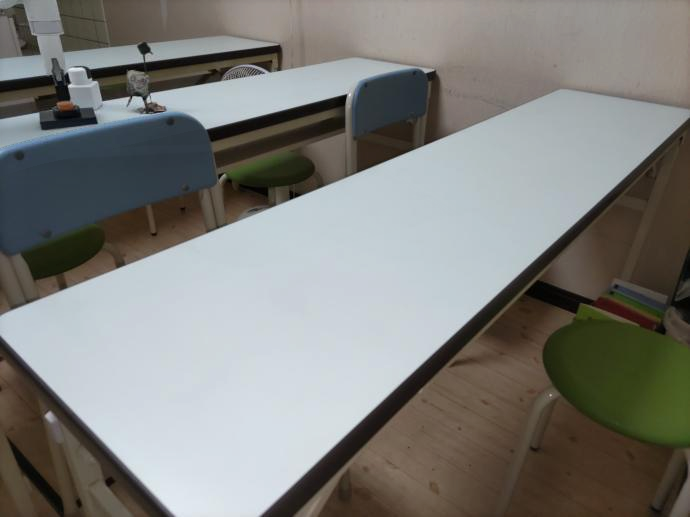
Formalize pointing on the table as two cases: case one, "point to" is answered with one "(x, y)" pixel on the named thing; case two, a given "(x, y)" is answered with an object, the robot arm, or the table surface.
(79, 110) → the button housing
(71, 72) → the medicine bottle
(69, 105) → the release button
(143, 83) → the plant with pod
